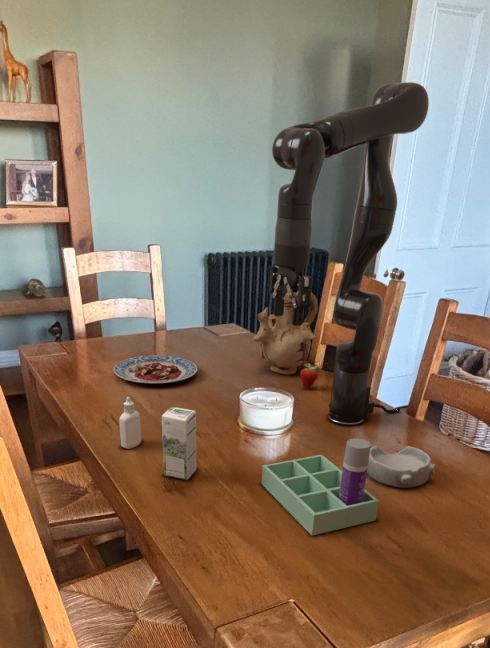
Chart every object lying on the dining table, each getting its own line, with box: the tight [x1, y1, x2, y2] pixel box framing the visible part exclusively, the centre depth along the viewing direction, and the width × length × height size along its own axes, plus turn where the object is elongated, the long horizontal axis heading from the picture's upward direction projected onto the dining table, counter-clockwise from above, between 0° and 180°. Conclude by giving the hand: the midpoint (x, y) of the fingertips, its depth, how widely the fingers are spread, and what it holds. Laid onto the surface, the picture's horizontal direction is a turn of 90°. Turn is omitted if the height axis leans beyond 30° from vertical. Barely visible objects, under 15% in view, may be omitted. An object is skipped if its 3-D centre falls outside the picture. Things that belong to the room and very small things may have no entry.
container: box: [339, 437, 372, 506], centre depth 119 cm, size 5×5×15 cm
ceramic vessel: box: [252, 292, 319, 376], centre depth 191 cm, size 18×19×25 cm
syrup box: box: [161, 406, 198, 481], centre depth 132 cm, size 6×6×14 cm
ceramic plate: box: [113, 354, 198, 385], centre depth 190 cm, size 26×26×3 cm
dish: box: [367, 445, 436, 489], centre depth 137 cm, size 14×14×5 cm
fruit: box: [300, 362, 319, 390], centre depth 182 cm, size 5×5×8 cm
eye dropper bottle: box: [118, 396, 143, 450], centre depth 144 cm, size 4×6×12 cm
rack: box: [261, 454, 380, 536], centre depth 126 cm, size 15×22×5 cm
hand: (287, 320), depth 135 cm, fingers open, 8 cm apart
